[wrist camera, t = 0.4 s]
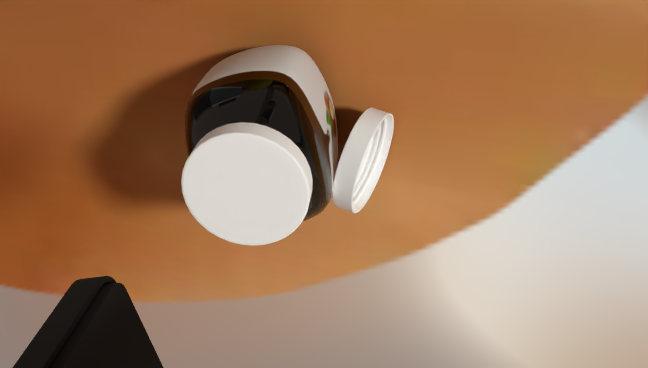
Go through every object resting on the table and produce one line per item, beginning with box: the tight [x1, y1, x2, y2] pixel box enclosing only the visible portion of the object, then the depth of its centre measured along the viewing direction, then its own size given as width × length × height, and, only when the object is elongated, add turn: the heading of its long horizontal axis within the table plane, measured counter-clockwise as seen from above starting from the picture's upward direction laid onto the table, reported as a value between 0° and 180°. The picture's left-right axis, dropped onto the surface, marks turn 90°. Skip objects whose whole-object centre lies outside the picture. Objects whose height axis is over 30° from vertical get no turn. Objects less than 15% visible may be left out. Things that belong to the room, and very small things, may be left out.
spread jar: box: [181, 45, 394, 246], centre depth 37 cm, size 12×11×12 cm
